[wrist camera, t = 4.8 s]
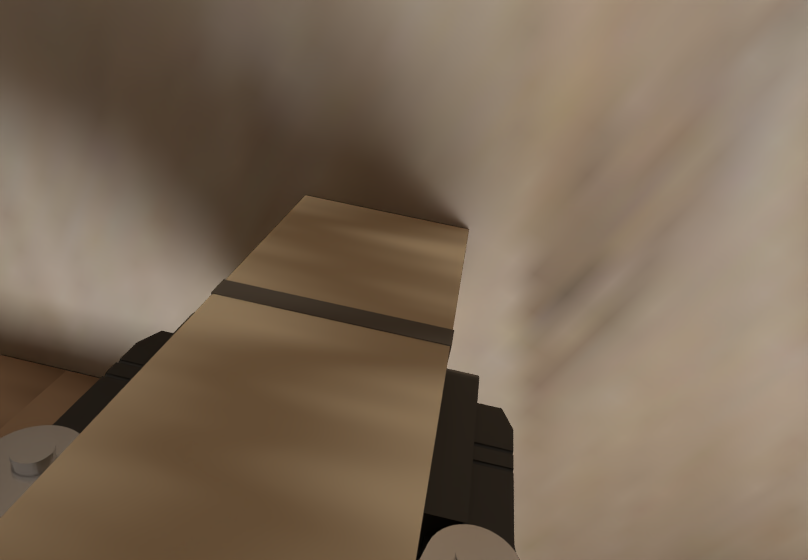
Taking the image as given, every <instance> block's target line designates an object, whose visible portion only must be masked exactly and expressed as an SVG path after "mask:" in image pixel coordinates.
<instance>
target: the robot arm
mask: <svg viewBox="0 0 808 560" xmlns="http://www.w3.org/2000/svg"><path fill="white" fill-rule="evenodd" d="M194 313H195V312H194ZM194 313H193V314H194ZM193 314H192V315H193ZM192 315H190V316H189V318H190V317H191V316H192ZM189 318H188V319H189ZM188 319H187V320H188ZM187 320H186V321H187ZM186 321H185V322H186ZM185 322H184V323H185ZM184 323H183V324H184ZM183 324H182V325H183ZM182 325H181V326H182ZM181 326H180V327H181ZM180 327H179V328H178V329H177V330H176V331H175V332H174V333H169V332H165V331H160V332H158V333H156V334H154V335H152V336H150V337H148V338H146V339H143V340H141V341H139V342H137V343H136V344H135V345H134V346H133V347H132V348H131V349H130V350H129V351H128V352H127V353H126V354H125V355H124V356H123V357H122V358H121V359H120V361H119V363H117V362H116V363H115V364H114V365H113V366H112V367H111V368H110V369H109V370H108V371H107V372H106V375H105V377H103V376H102V377H101V378H100V379H99V380H98V381H97V382H96V383H95V384H94V385H93V386H92V387H91V388H90V389H89V390H88V391H87V392H86V393H85V394H84V395H82V396H81V397H80V398H79V399H78V400H77V401H76V402H75V403H74V404H73V405H72V406H71V407H70V408H69V409H68V410H67V411H66V412H65V413H64V414H63V415H62V416H61V417H60V418H59V419H58V420H57V421H56V422H55V423H54V424H53V425H41V426H33V427H28V428H24V429H21V430H18V431H15V432H12V433H10V434H8V435H6V436H4V437H2V438H0V518H1V517H2V516H3V515H4V514H5V513H6V512H7V511H8V509H9V508H10V507H11V506H12V505H13V504H14V503H15V502H16V501H17V500H18V499H19V498H20V497H21V496H22V495H23V494H24V493H25V491H26V490H27V489H28V488H29V487H30V486H31V485H32V484H33V483H34V482H35V481H36V480H37V479H38V478H39V477H40V476H41V475H42V473H43V472H44V471H45V470H46V469H47V468H48V467H49V466H50V465H51V464H52V463H53V462H54V461H55V460H56V459H57V458H58V457H59V456H60V454H61V453H62V452H63V451H64V450H65V449H66V448H67V447H68V446H69V445H70V444H71V443H72V442H73V441H74V440H75V439H76V438H77V436H78V435H79V434H80V433H81V432H82V431H83V430H84V429H85V428H86V427H87V426H88V425H89V424H90V423H91V422H92V421H93V420H94V418H95V417H96V416H97V415H98V414H99V413H100V412H101V411H102V410H103V409H104V408H105V407H106V406H107V405H108V404H109V403H110V402H111V400H112V399H113V398H114V397H115V396H116V395H117V394H118V393H119V392H120V391H121V390H122V389H123V388H124V387H125V386H126V385H127V384H128V383H129V381H130V380H131V379H132V378H133V377H134V376H135V375H136V374H137V373H138V372H139V371H140V370H141V369H142V368H143V367H144V366H145V365H146V363H147V362H148V361H149V360H150V359H151V358H152V357H153V356H154V355H155V354H156V353H157V352H158V351H159V350H160V349H161V348H162V347H163V345H164V344H165V343H166V342H167V341H168V340H169V339H170V338H171V337H172V336H173V335H174V334H175V333H176V332H177V331H178V330H179V329H180ZM478 386H479V376H478V375H473V374H469V373H465V372H460V371H456V370H451V369H446V375H445V381H444V388H443V394H442V400H441V406H440V412H439V419H438V425H437V431H436V437H435V444H434V450H433V456H432V462H431V469H430V475H429V481H428V487H427V493H426V500H425V506H424V512H423V518H422V525H421V531H420V537H419V543H418V550H417V556H416V560H520V559H519V557H518V555H517V554H516V551H515V546H514V478H513V428H512V426H511V425H510V423H509V421H508V419H507V417H506V415H505V414H504V412H503V410H502V409H501V408H497V407H493V406H488V405H484V404H479V403H477V399H478Z"/></svg>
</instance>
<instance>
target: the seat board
mask: <svg viewBox="0 0 808 560" xmlns="http://www.w3.org/2000/svg"><path fill="white" fill-rule="evenodd" d="M99 379H100V378H97V377H93V376H88V375H84V374H80V373H76V372H71V371H67V370H63V369H58V368H54V367H50V366H46V365H41V364H37V363H33V362H29V361H24V360H20V359H16V358H12V357H7V356H3V355H0V438H2V437H4V436H6V435H8V434H10V433H12V432H15V431H18V430H21V429H24V428H28V427H33V426H41V425H53V424H54V423H55V422H56V421H57V420H58V419H59V418H60V417H61V416H62V415H63V414H64V413H65V412H66V411H67V410H68V409H69V408H70V407H71V406H72V405H73V404H74V403H75V402H76V401H77V400H78V399H79V398H80V397H81V396H82V395H84V394H85V393H86V392H87V391H88V390H89V389H90V388H91V387H92V386H93V385H94V384H95V383H96V382H97V381H98V380H99Z"/></svg>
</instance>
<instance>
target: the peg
mask: <svg viewBox="0 0 808 560" xmlns="http://www.w3.org/2000/svg"><path fill="white" fill-rule="evenodd" d="M468 232H469V229H464V228H459V227H455V226H450V225H445V224H440V223H436V222H431V221H426V220H421V219H416V218H412V217H407V216H402V215H397V214H393V213H388V212H383V211H378V210H373V209H369V208H364V207H359V206H354V205H350V204H345V203H340V202H335V201H330V200H326V199H321V198H316V197H311V196H306V195H305V196H304V197H303V198H302V199H301V201H300V202H299V203H298V204H297V205H296V206H295V207H294V208H293V209H292V210H291V211H290V212H289V213H288V214H287V215H286V216H285V217H284V218H283V220H282V221H281V222H280V223H279V224H278V225H277V226H276V227H275V228H274V229H273V230H272V231H271V232H270V233H269V234H268V235H267V236H266V238H265V239H264V240H263V241H262V242H261V243H260V244H259V245H258V246H257V247H256V248H255V249H254V250H253V251H252V252H251V253H250V254H249V256H248V257H247V258H246V259H245V260H244V261H243V262H242V263H241V264H240V265H239V266H238V267H237V268H236V269H235V270H234V271H233V272H232V274H231V275H230V276H229V277H228V278H227V279H226V280H225V279H224V280H223V281H222V282H221V283H220V284H219V285H218V286H217V287H216V288H215V289H214V290H213V291H212V292H211V296H210V297H209V298H208V299H207V300H206V301H205V302H204V303H203V304H202V305H201V306H200V307H199V308H198V309H197V311H196V312H195V313H194V314H193V315H192V316H191V317H190V318H189V319H188V320H187V321H186V322H185V323H184V324H183V325H182V326H181V327H180V329H179V330H178V331H177V332H176V333H175V334H174V335H173V336H172V337H171V338H170V339H169V340H168V341H167V342H166V343H165V344H164V345H163V347H162V348H161V349H160V350H159V351H158V352H157V353H156V354H155V355H154V356H153V357H152V358H151V359H150V360H149V361H148V362H147V363H146V365H145V366H144V367H143V368H142V369H141V370H140V371H139V372H138V373H137V374H136V375H135V376H134V377H133V378H132V379H131V380H130V381H129V383H128V384H127V385H126V386H125V387H124V388H123V389H122V390H121V391H120V392H119V393H118V394H117V395H116V396H115V397H114V398H113V399H112V400H111V402H110V403H109V404H108V405H107V406H106V407H105V408H104V409H103V410H102V411H101V412H100V413H99V414H98V415H97V416H96V417H95V418H94V420H93V421H92V422H91V423H90V424H89V425H88V426H87V427H86V428H85V429H84V430H83V431H82V432H81V433H80V434H79V435H78V436H77V438H76V439H75V440H74V441H73V442H72V443H71V444H70V445H69V446H68V447H67V448H66V449H65V450H64V451H63V452H62V453H61V454H60V456H59V457H58V458H57V459H56V460H55V461H54V462H53V463H52V464H51V465H50V466H49V467H48V468H47V469H46V470H45V471H44V472H43V473H42V475H41V476H40V477H39V478H38V479H37V480H36V481H35V482H34V483H33V484H32V485H31V486H30V487H29V488H28V489H27V490H26V491H25V493H24V494H23V495H22V496H21V497H20V498H19V499H18V500H17V501H16V502H15V503H14V504H13V505H12V506H11V507H10V508H9V509H8V511H7V512H6V513H5V514H4V515H3V516H2V517H1V518H0V560H416V556H417V550H418V543H419V537H420V531H421V525H422V518H423V512H424V506H425V500H426V493H427V487H428V481H429V475H430V469H431V462H432V456H433V450H434V444H435V437H436V431H437V425H438V419H439V412H440V406H441V400H442V394H443V388H444V381H445V375H446V369H447V363H448V359H449V354H450V350H451V346H452V340H453V333H454V330H453V325H454V319H455V313H456V307H457V300H458V294H459V288H460V282H461V275H462V269H463V263H464V257H465V250H466V244H467V238H468Z"/></svg>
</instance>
